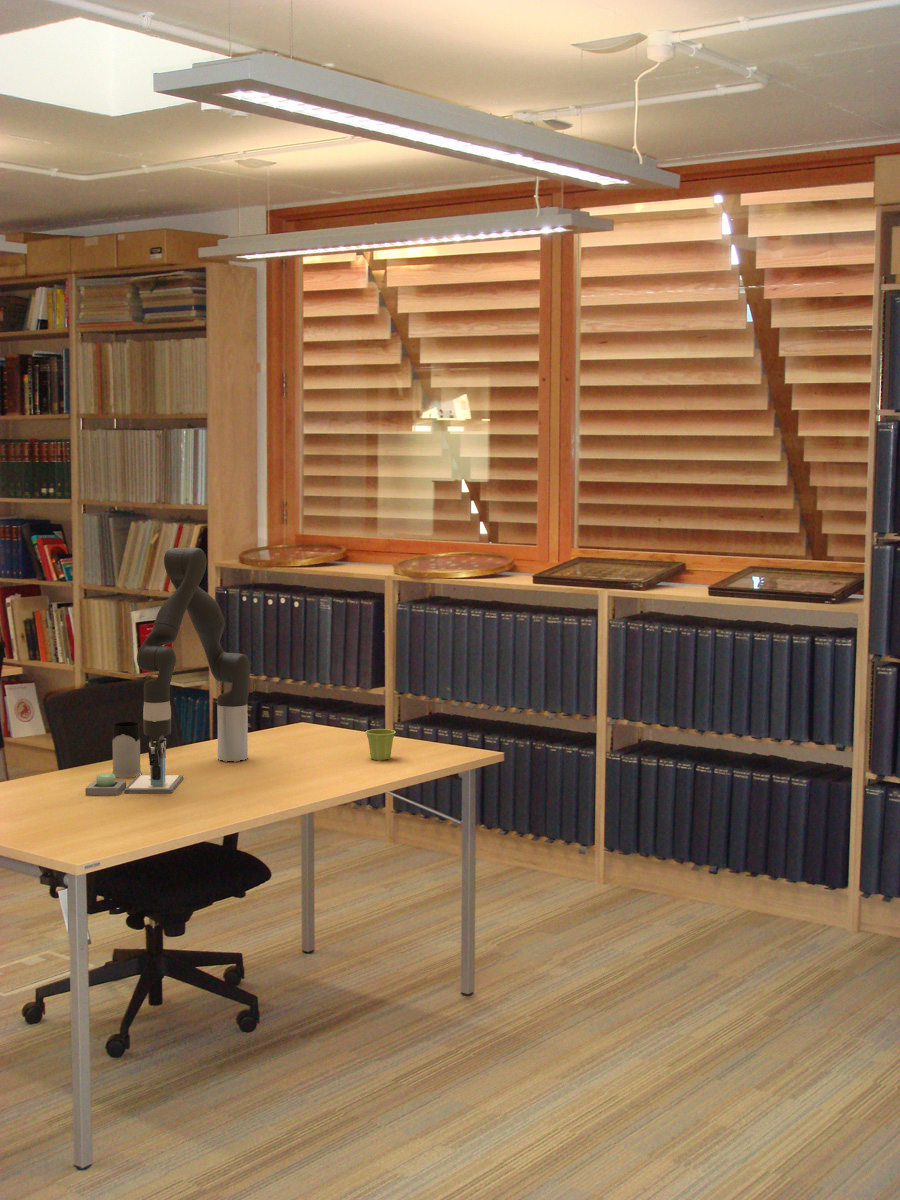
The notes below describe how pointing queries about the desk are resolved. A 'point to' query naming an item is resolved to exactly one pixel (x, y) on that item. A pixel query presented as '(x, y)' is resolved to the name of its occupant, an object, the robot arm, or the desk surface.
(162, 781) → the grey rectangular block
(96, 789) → the button housing
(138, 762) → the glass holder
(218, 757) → the robot arm
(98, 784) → the button
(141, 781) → the whiteboard
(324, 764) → the desk surface
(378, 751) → the plant pot
